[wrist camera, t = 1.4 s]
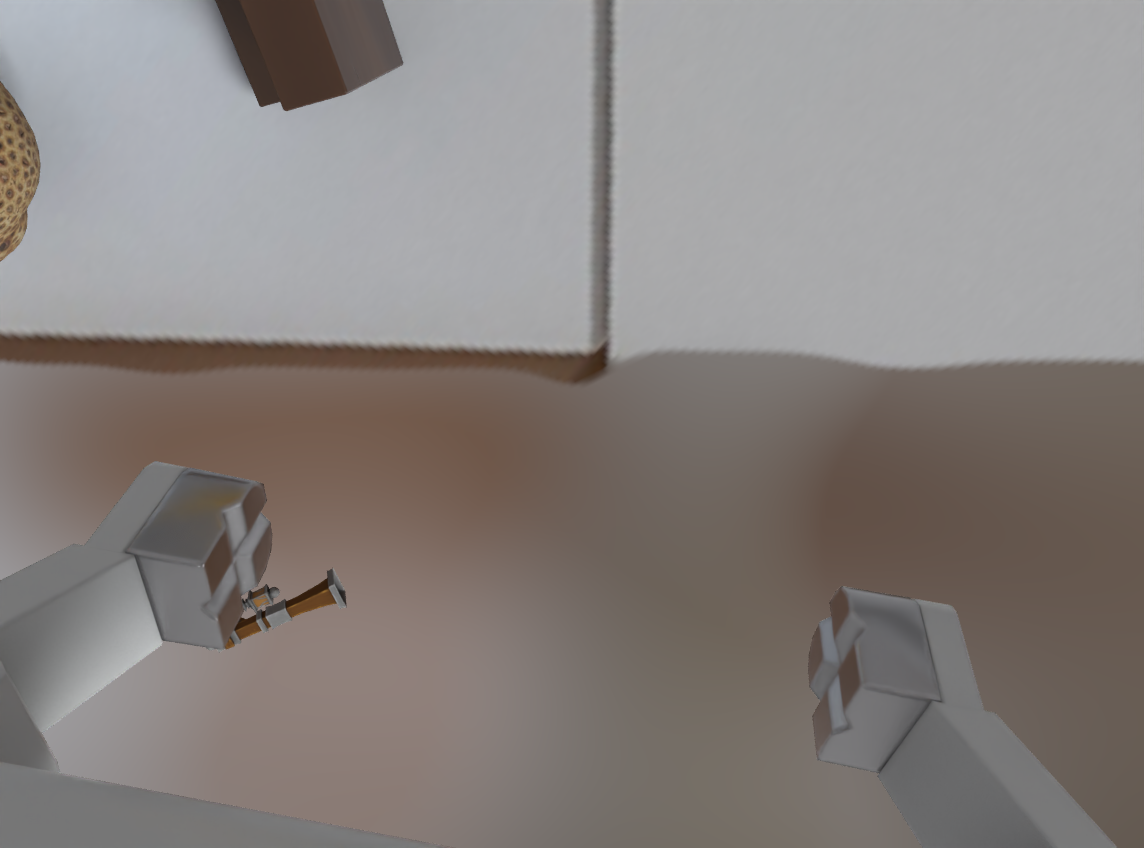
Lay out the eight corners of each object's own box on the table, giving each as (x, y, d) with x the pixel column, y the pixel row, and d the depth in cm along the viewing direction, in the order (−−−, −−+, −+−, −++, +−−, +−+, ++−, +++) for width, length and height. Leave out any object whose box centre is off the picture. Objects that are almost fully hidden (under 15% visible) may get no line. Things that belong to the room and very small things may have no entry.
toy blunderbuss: (203, 598, 51) (196, 643, 47) (331, 545, 52) (334, 586, 48) (217, 620, 52) (211, 667, 48) (342, 568, 53) (347, 609, 49)
